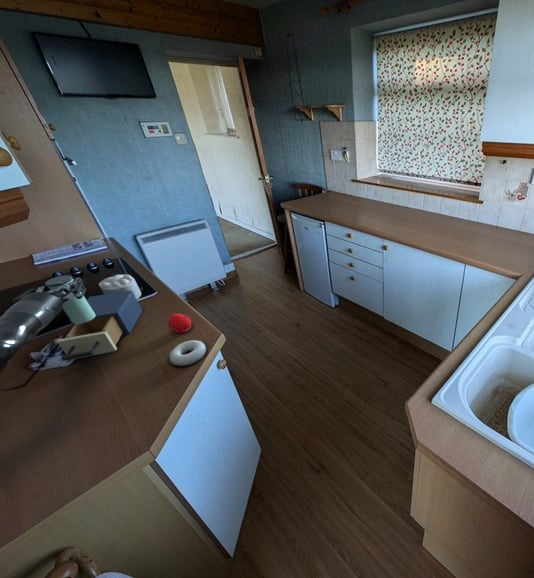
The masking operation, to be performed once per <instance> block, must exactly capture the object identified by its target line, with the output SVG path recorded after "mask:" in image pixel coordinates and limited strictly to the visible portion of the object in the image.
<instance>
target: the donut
mask: <svg viewBox="0 0 534 578" xmlns="http://www.w3.org/2000/svg"><path fill="white" fill-rule="evenodd" d="M206 351H207V347H206V345H205V343H204V342H203V341H201V340H196V339H195V340H192V339H191V340H187V341H184V342H181V343H179V344H177V345H176V346H175V347H173V349H172V350H171V351H170V353H169V361H170V363H171V364H173V365H174V366H178V367H186V366H190V365H192V364H194V363H196V362H198V361H199V360H200V359H202V358H203V357H204V356H205V354H206ZM188 352H189V353H188Z"/></svg>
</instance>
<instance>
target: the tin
mask: <svg viewBox="0 0 534 578" xmlns="http://www.w3.org/2000/svg"><path fill="white" fill-rule="evenodd" d="M73 280H74V278H73V276H72V275H69V274H67V275H59V276H55V277H52V278H50V279H48V280H47V281H45V283H44V285H45V284H46V285H47V286H48V288H49V289H50V291H51V290H55V289H56V288H58V287H60V286H62V285H64V286H66V285H68V284H70V283H71V282H72V281H73ZM70 290H73V289H72V287H70ZM63 291H64V290H63ZM62 310H63V311H64V312H65V314H66V315H67V317H68V318H69V320H70V319H71V321H72V322H73V323H74V324H82V323H85V322H88V321H90V320H92V319H93V318H95V316H96V315H95V313H94V311H93V310H92V308H91V307H90V305H89V304H88V302H87V298H86V297H85V295H84V296H83V298H81V299H77V298H76V297H74V298H69V300H68V301H66V302H64V303H63V306H62Z"/></svg>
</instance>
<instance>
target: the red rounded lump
mask: <svg viewBox="0 0 534 578" xmlns="http://www.w3.org/2000/svg"><path fill="white" fill-rule="evenodd" d="M167 325H168V327H169V329H170V330H172V331H173V332H175V333H176V334H185V333H186V332H188V331H190V329H191V328H192V319H191V317H190V316H188V315H185V314H181V313H174V314H172V315H171V316H170V317H169V319H168V323H167Z"/></svg>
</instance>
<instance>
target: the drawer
mask: <svg viewBox="0 0 534 578" xmlns="http://www.w3.org/2000/svg"><path fill="white" fill-rule="evenodd" d="M123 331H124V329H123V327H122V325H121V324H120V322H119V320H118V318H117V317H116V315H113V316H107V317H101V318H95V319H92V320H90V321H88V322H85V323H82V324H75V325H74V326H72V327H71V329H70V330H69V332H68V333H67V334H66V335H65V338H59V339H58V340H57V342H56V343H57V344H58V345H59V347H60V349H62V351H63V352H64V353H65V355H62V356H61V360H62V361H69V360H70V361H72V360H77V359H82V358H86V357H92V356H97V355H103V354H107V353H112V352H116V351H117V350H118V347H117V346H116V345H117V343H119V340H120V339H121V337H122V336H123V335H122V333H123Z"/></svg>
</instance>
